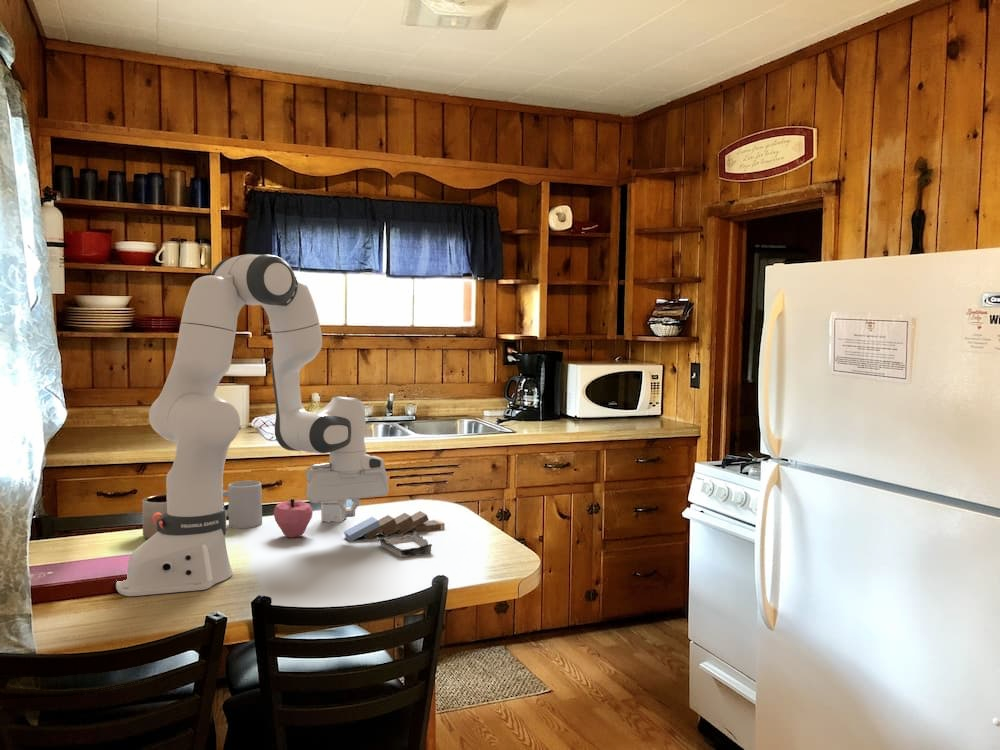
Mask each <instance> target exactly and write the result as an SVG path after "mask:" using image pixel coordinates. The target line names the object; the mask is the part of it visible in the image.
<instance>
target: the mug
mask: <svg viewBox="0 0 1000 750" xmlns="http://www.w3.org/2000/svg"><path fill="white" fill-rule="evenodd" d="M262 493H263V492H262V483H261V482H260V481H259V480H241V481H240V480H239V481H238V480H237V481H234V482H233V481H232V482H230V483H228V487H227V489H226V490H223V498H224V497H225V498H227V500H228V501H227V503H228V506H227V507H228V508H227V509H225V513H226V518H228V526H229V527H230V528H232V527H234V528H233V529H250V527H252V528H255V526H256V527H259V526H260V525H262V524H263V499H262V498H263V497H262V495H263V494H262Z"/></svg>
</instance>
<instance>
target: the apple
mask: <svg viewBox="0 0 1000 750" xmlns="http://www.w3.org/2000/svg"><path fill="white" fill-rule="evenodd" d="M273 516H274V520H275V522H276V524H277V526H278V527H279V528H280V530H281V532H282V534H283V535H284V536H285V537H288V538H299V537H302V536H303V535H304V534H305V531H306V529H307V527H308V525H309V523H310V522H311V520H312V517H313V508H312V505H311V504H310V502H309V503H307V502H304V501H303V500H297V499H293V498H291V499H290V500H287V501H282V502H279V503H277V504H276V505H275V507H274V509H273Z"/></svg>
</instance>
